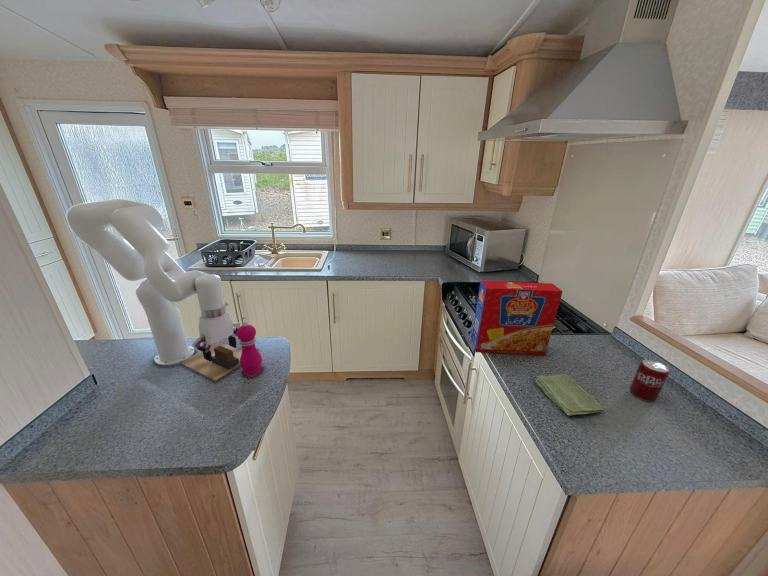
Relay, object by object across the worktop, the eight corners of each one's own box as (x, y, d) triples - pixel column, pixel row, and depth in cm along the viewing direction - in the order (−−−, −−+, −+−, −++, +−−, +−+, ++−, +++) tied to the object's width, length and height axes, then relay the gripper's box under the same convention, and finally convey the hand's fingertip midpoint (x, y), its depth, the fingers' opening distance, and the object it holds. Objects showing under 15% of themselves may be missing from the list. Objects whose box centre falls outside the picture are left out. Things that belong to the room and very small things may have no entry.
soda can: (631, 384, 107) (643, 356, 103) (657, 395, 102) (671, 365, 98) (627, 394, 102) (639, 365, 98) (654, 406, 98) (669, 375, 93)
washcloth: (568, 420, 91) (570, 411, 90) (531, 381, 107) (533, 373, 106) (605, 414, 94) (608, 406, 92) (564, 377, 110) (566, 370, 109)
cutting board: (179, 364, 111) (179, 362, 111) (219, 343, 124) (219, 341, 124) (215, 382, 102) (215, 380, 102) (254, 357, 116) (254, 356, 115)
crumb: (237, 350, 120) (237, 348, 120) (244, 346, 123) (243, 344, 122) (243, 352, 119) (242, 350, 118) (249, 348, 121) (249, 346, 121)
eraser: (211, 362, 111) (208, 349, 109) (222, 355, 115) (220, 343, 113) (228, 369, 107) (225, 356, 105) (239, 363, 111) (236, 350, 109)
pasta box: (475, 352, 123) (486, 288, 113) (470, 341, 131) (480, 280, 120) (545, 355, 123) (562, 291, 112) (536, 344, 130) (552, 283, 120)
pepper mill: (255, 379, 104) (247, 328, 97) (237, 376, 106) (227, 325, 98) (267, 366, 111) (260, 318, 103) (249, 364, 112) (241, 315, 105)
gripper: (228, 299, 112) (235, 339, 119) (181, 317, 98) (191, 362, 104) (242, 304, 109) (248, 344, 115) (195, 324, 95) (205, 369, 101)
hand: (221, 353), depth 110 cm, fingers open, 9 cm apart
